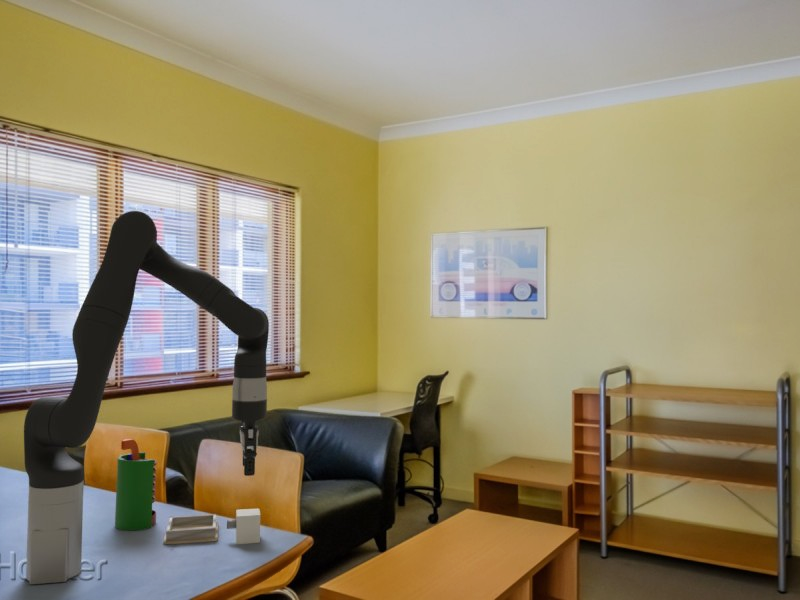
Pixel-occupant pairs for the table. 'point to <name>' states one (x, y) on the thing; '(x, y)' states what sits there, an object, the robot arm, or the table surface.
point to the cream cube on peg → (246, 526)
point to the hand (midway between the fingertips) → (248, 470)
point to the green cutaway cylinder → (135, 489)
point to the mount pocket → (191, 529)
